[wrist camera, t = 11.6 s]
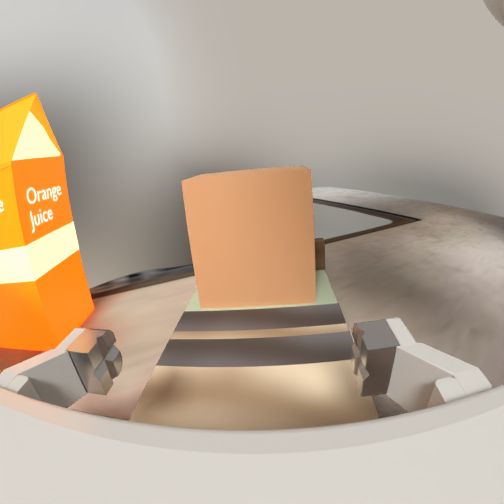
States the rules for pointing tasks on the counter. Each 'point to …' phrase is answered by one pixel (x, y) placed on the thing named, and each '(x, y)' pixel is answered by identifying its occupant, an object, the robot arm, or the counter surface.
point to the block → (252, 237)
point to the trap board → (257, 370)
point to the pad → (322, 297)
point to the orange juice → (36, 236)
